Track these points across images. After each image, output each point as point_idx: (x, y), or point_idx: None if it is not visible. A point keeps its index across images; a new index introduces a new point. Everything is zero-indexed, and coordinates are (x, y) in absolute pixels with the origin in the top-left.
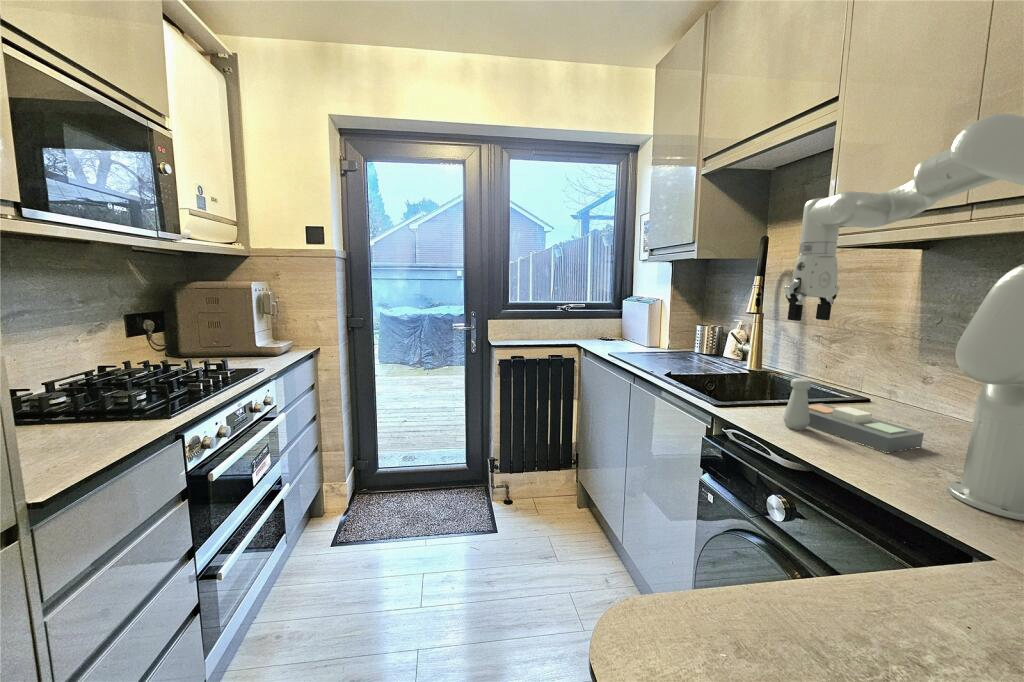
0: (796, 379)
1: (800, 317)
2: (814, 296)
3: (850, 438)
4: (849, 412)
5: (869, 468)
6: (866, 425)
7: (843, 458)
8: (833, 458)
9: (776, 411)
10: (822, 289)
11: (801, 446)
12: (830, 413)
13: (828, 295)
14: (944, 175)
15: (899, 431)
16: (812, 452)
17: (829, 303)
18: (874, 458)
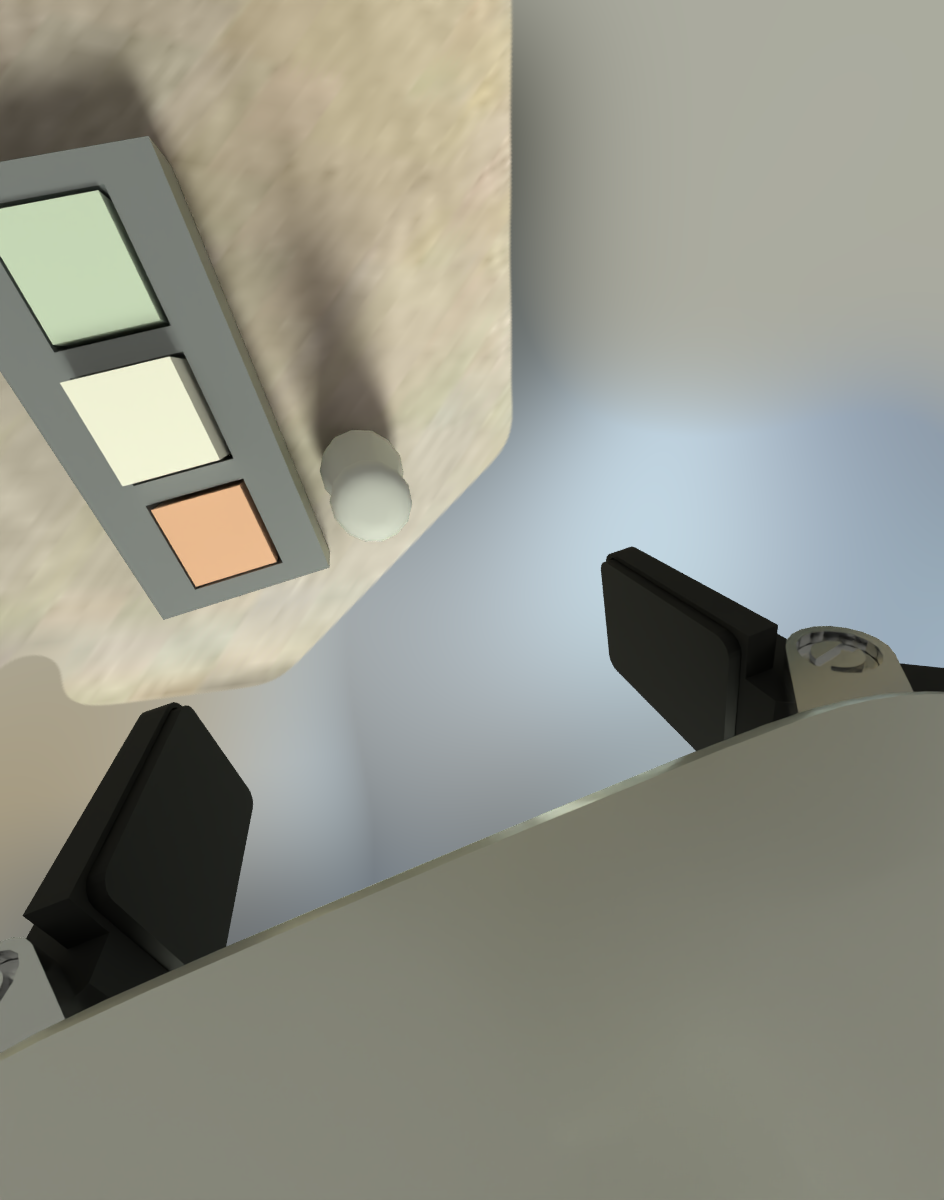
0: (398, 506)
1: (638, 559)
2: (733, 740)
3: (234, 323)
4: (175, 402)
5: (357, 26)
6: (155, 306)
7: (388, 147)
8: (425, 154)
9: (323, 625)
10: (629, 1125)
11: (459, 284)
12: (207, 493)
13: (196, 986)
14: None
15: (29, 204)
16: (459, 223)
17: (49, 954)
18: (263, 124)
